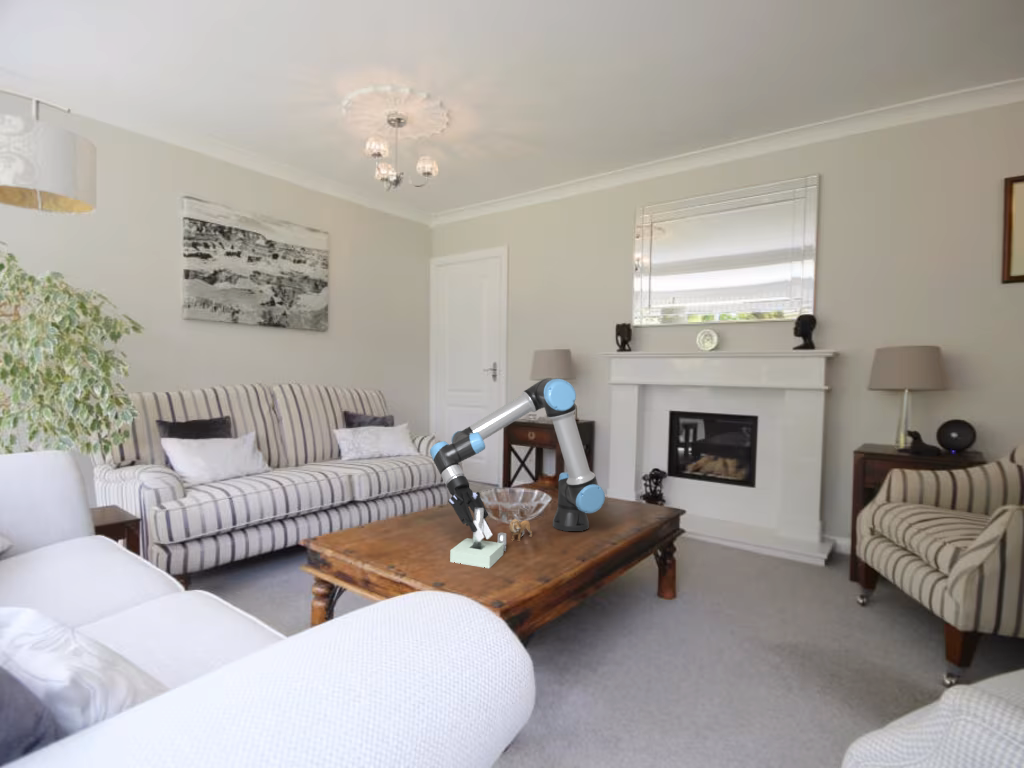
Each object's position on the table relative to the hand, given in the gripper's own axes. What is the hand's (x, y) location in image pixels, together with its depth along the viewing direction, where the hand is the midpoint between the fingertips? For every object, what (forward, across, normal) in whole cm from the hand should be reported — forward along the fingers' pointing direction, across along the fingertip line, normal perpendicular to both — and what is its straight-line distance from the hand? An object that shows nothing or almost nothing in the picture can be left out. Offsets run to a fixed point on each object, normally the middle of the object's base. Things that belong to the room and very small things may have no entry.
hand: (485, 538), depth 179 cm
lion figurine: (0, -27, -11) cm, 29 cm away
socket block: (+3, 0, -8) cm, 9 cm away
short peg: (+3, -12, -8) cm, 15 cm away
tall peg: (+1, 0, -6) cm, 6 cm away
